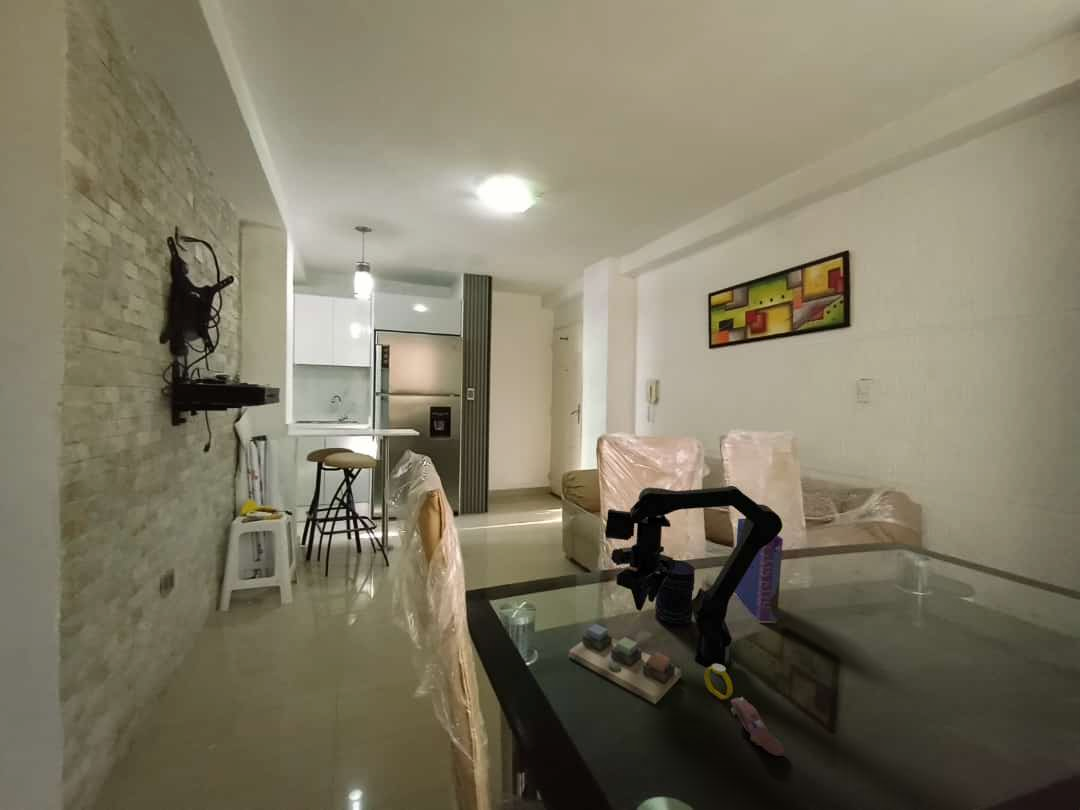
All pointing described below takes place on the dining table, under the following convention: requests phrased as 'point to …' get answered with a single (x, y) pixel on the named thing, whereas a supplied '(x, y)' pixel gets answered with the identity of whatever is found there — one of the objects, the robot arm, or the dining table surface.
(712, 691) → the gold ring
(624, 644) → the sage button
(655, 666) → the terracotta button
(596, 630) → the slate button
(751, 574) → the cereal box
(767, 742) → the pink shoe
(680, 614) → the storage jar
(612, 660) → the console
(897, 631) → the dining table surface
